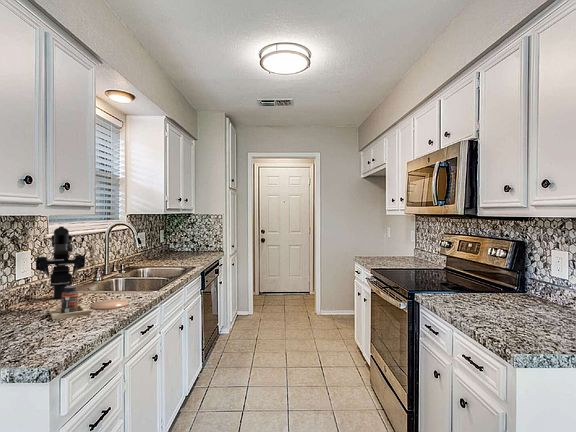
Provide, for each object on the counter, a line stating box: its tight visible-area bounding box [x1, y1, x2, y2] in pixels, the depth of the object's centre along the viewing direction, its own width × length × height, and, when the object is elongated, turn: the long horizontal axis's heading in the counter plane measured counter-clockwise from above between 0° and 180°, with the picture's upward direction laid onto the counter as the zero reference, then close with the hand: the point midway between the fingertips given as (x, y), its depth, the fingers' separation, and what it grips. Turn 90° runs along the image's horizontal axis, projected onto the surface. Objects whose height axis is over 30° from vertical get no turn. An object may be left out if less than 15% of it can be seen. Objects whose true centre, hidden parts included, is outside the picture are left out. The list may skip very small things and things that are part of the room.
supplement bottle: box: [60, 285, 79, 314], centre depth 150 cm, size 6×6×11 cm
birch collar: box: [48, 303, 91, 321], centre depth 150 cm, size 13×13×2 cm
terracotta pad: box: [91, 298, 129, 311], centre depth 163 cm, size 15×15×1 cm
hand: (61, 275), depth 155 cm, fingers open, 9 cm apart
